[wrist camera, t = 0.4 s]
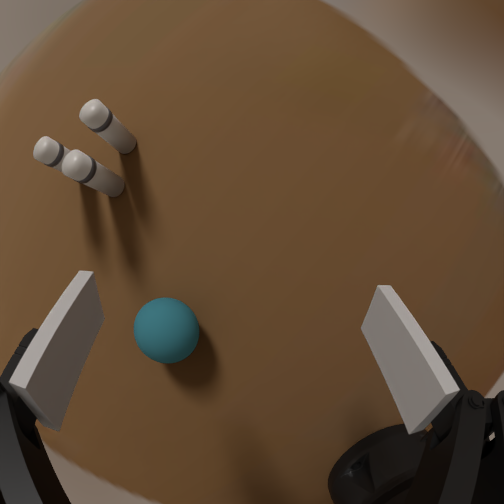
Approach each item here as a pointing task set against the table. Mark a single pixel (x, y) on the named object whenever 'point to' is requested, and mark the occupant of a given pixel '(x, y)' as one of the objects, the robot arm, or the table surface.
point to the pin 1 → (50, 152)
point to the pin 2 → (107, 126)
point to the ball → (166, 330)
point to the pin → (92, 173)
